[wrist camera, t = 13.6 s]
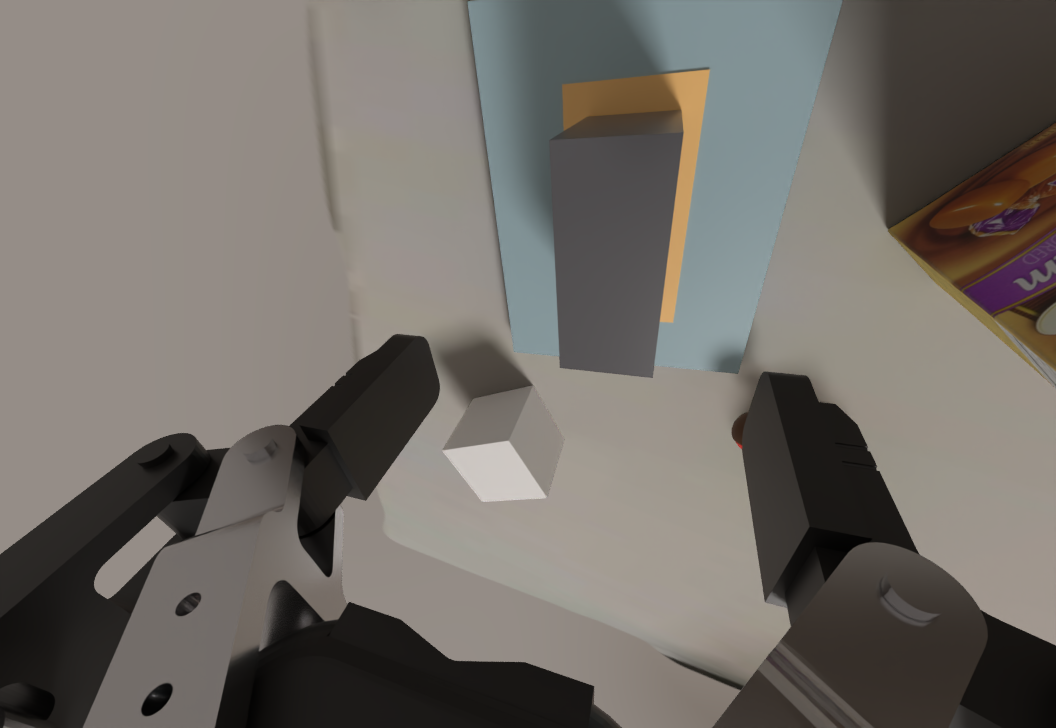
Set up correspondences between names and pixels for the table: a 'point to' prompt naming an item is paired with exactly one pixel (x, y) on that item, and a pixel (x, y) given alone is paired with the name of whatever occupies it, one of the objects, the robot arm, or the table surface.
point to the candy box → (998, 248)
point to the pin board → (706, 157)
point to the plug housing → (613, 236)
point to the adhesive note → (506, 446)
